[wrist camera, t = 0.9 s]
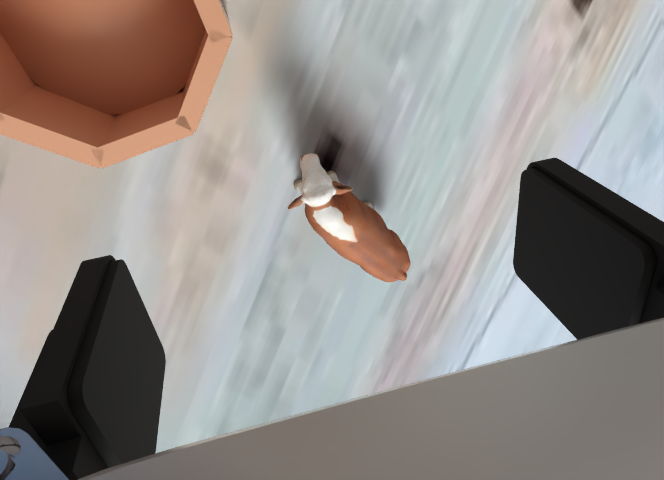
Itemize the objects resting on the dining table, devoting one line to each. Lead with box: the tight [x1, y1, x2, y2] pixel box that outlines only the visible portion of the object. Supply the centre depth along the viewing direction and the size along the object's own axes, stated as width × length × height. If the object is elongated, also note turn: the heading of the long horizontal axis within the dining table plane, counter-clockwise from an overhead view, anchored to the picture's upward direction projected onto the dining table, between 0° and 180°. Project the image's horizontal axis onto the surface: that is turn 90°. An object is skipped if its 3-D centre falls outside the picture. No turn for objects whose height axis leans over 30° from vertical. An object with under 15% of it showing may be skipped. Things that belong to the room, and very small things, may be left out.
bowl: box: [0, 0, 232, 168], centre depth 27 cm, size 14×14×7 cm
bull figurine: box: [288, 154, 410, 282], centre depth 37 cm, size 4×13×8 cm, turn 38°
